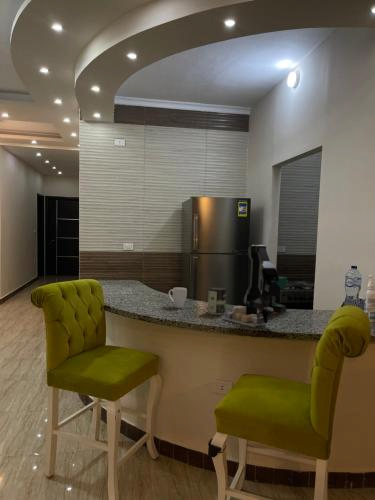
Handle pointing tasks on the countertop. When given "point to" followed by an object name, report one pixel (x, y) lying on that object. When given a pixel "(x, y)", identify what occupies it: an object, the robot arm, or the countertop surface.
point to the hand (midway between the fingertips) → (265, 323)
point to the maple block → (239, 312)
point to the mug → (178, 296)
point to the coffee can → (217, 300)
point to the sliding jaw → (253, 319)
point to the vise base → (229, 317)
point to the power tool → (282, 285)
